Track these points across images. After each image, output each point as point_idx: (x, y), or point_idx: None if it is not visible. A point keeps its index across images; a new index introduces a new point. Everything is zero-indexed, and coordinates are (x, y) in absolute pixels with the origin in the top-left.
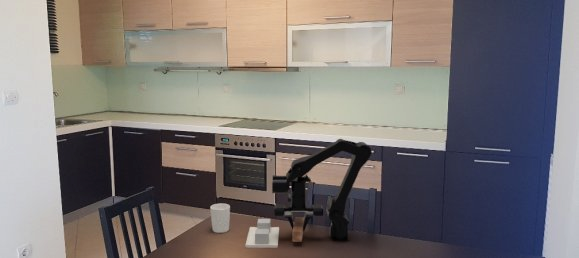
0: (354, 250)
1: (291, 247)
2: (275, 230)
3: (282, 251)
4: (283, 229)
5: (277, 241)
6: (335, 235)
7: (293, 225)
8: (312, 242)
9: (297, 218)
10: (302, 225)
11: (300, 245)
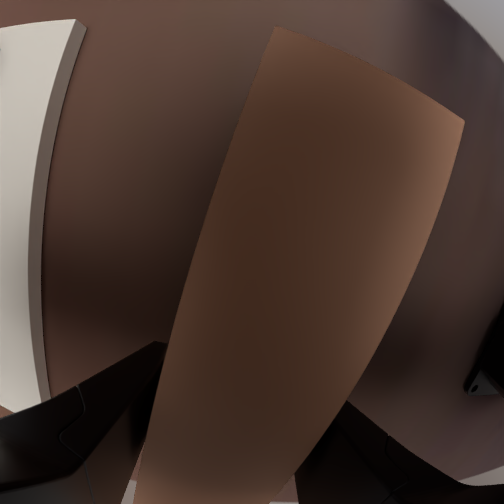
0: (462, 469)
1: None
2: (17, 113)
3: None
4: (129, 27)
5: (34, 381)
6: (500, 392)
7: (135, 462)
8: None
9: (299, 121)
10: (277, 487)
11: None
